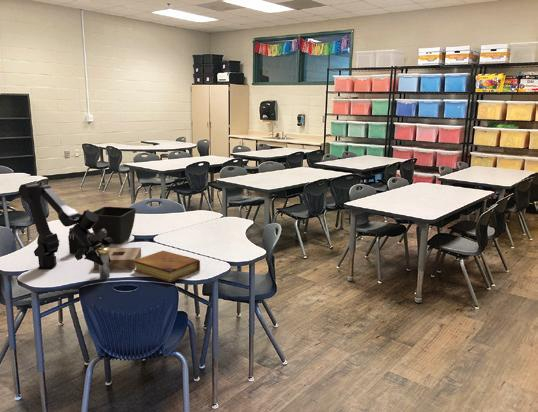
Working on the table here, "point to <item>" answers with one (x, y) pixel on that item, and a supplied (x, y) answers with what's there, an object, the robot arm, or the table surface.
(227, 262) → the table surface
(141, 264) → the diary
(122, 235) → the flower pot
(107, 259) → the pin
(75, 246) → the electronic device
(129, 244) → the table surface
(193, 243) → the table surface
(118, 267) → the socket block
